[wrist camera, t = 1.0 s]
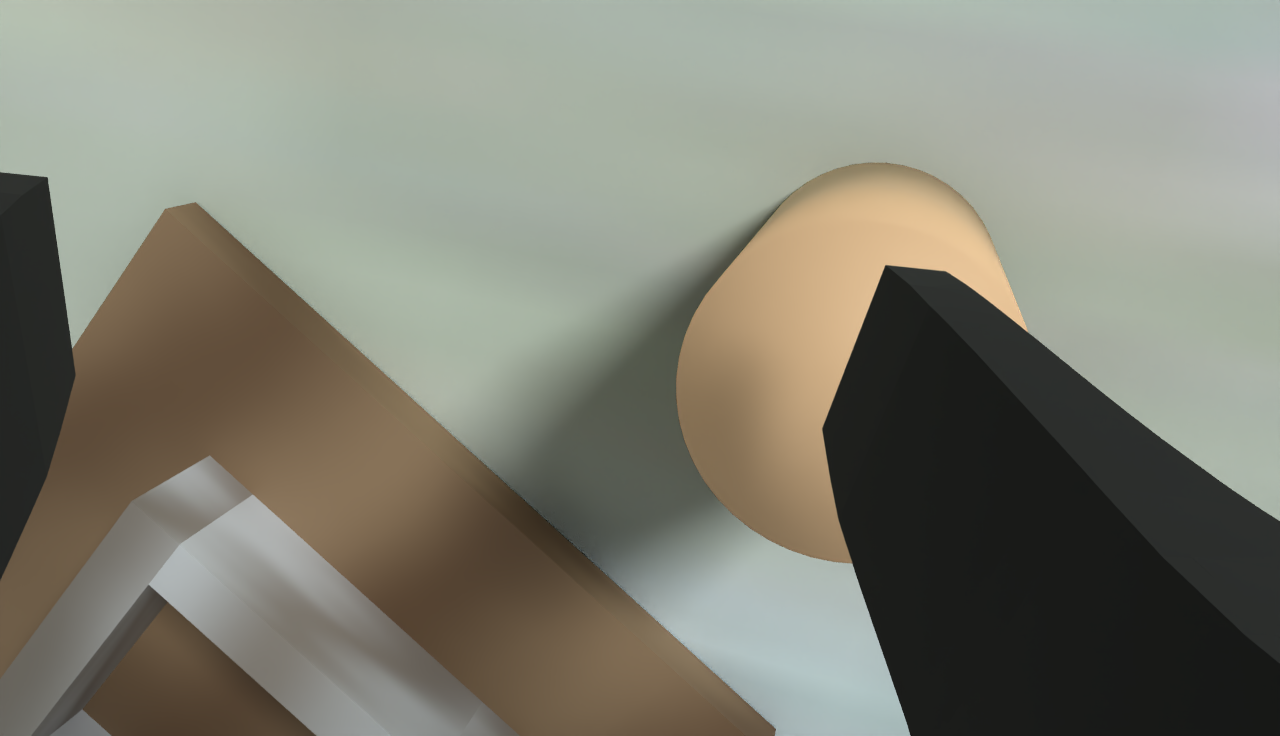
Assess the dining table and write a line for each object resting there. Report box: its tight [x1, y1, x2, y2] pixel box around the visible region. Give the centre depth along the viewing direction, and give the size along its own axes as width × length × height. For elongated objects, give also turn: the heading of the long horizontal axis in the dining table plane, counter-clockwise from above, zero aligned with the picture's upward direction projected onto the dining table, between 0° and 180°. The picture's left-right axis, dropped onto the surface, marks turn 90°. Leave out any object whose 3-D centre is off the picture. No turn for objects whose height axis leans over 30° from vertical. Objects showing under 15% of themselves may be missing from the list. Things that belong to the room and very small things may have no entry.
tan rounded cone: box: [676, 163, 1028, 563], centre depth 17 cm, size 4×4×7 cm
